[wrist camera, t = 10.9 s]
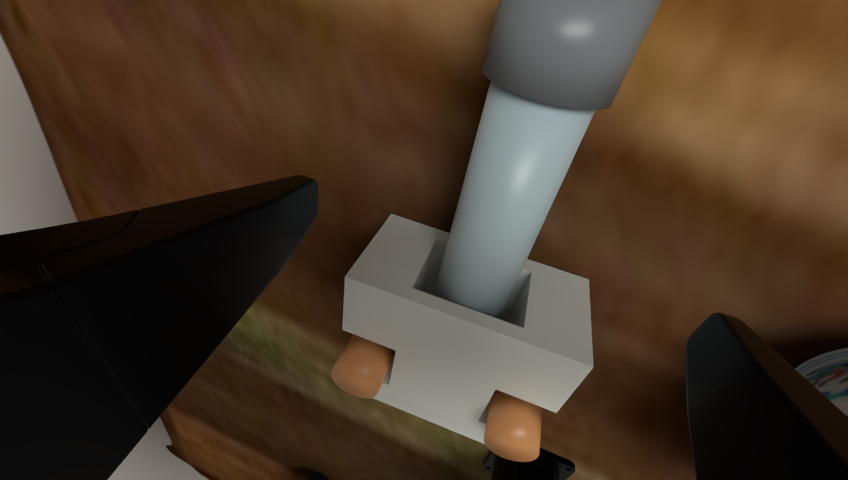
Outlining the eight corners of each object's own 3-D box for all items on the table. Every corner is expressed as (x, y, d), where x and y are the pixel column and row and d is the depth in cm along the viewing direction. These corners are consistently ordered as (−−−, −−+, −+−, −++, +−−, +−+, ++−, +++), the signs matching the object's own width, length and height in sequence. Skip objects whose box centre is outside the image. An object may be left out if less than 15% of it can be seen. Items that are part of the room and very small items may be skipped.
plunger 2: (532, 423, 22) (528, 468, 20) (485, 405, 22) (477, 447, 20) (550, 399, 20) (547, 445, 18) (499, 380, 20) (492, 423, 18)
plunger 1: (392, 368, 23) (375, 404, 21) (350, 351, 23) (330, 386, 21) (397, 340, 21) (380, 378, 19) (352, 323, 22) (331, 358, 20)
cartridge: (507, 301, 23) (495, 363, 19) (435, 276, 23) (411, 331, 20) (648, -6, 13) (677, 6, 9) (517, -34, 13) (497, -35, 10)
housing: (528, 375, 27) (519, 458, 23) (376, 318, 29) (339, 384, 24) (588, 279, 21) (593, 367, 16) (391, 213, 23) (344, 276, 18)
